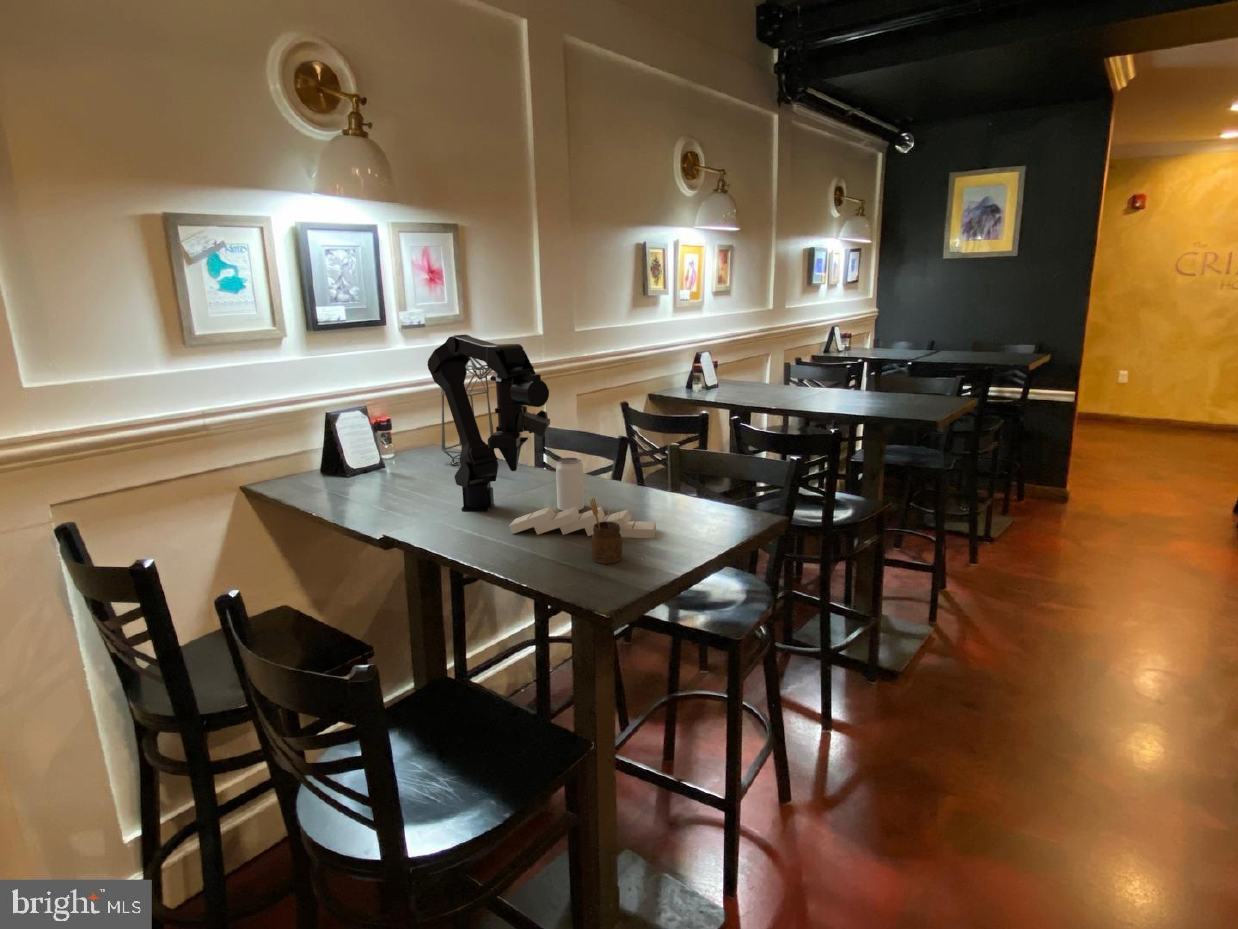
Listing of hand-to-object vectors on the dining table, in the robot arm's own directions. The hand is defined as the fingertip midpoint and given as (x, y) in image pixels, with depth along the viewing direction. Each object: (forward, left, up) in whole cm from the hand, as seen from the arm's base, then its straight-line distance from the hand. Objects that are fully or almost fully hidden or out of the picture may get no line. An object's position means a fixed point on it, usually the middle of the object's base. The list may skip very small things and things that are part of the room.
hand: (513, 470), depth 160 cm
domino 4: (+18, -7, -11) cm, 22 cm away
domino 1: (+1, -6, -11) cm, 13 cm away
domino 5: (+23, -7, -11) cm, 26 cm away
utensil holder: (+23, -22, -12) cm, 34 cm away
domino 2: (+6, -6, -11) cm, 14 cm away
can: (+11, +10, -12) cm, 19 cm away
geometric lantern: (-27, +55, -12) cm, 63 cm away
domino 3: (+12, -6, -11) cm, 17 cm away
